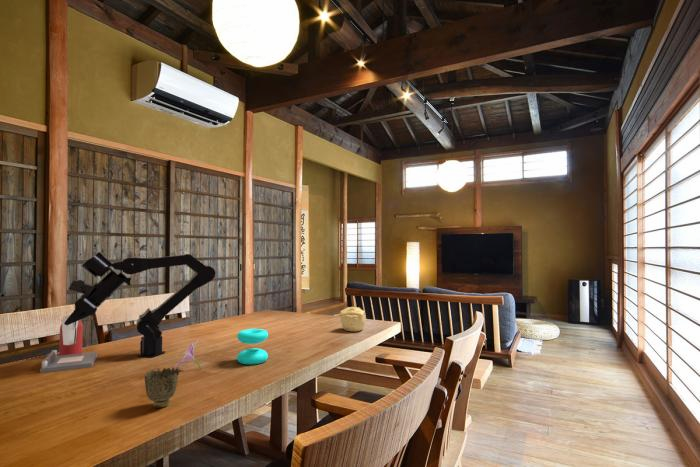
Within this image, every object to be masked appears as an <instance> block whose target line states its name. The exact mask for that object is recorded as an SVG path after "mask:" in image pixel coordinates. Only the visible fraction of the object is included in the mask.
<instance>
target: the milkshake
mask: <svg viewBox="0 0 700 467" xmlns="http://www.w3.org/2000/svg"><path fill="white" fill-rule="evenodd" d="M69 316H70V315H64V316H62V317H61V319H60V321H61V324H62V333H63V345H71V344H75V343H76V334H77V326H78V321H76V322H74V323H72V324H69V325H65V324H64V323H65V321H66V320H67V319H68V318H69Z"/></svg>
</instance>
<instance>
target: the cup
mask: <svg viewBox="0 0 700 467" xmlns="http://www.w3.org/2000/svg"><path fill="white" fill-rule="evenodd" d="M143 375H144V385H145V393H146V396H147V398H148V399H149V400H150V401H152V406H153V407H154V408H156V409H161V408H165V407H167V406H168V405H169V404H170V403H171V400H170V399H171V398H172V397H173V396H174V394H175V393H176V391H177V386H178V380H179V379H178V378H179V369H178V368H175V369H174V367H173V368H172V369H171V368H170V367H167V368H166V367H163V369H162V370H160V368H158V369H157V371H156V370H153V369H151V370H150V371H147V372H146V374H143Z"/></svg>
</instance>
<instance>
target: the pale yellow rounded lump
mask: <svg viewBox="0 0 700 467" xmlns="http://www.w3.org/2000/svg"><path fill="white" fill-rule="evenodd" d="M365 313H366V312H365V310H363V309H362V308H361V307H360V306H359V307H356V306H350V307H349V306H347V307H346V308H344V309H342V310H340V320H339V321H340V324H341V326H342V328H343V330H344V331H347V332H359V331H362V330H364V328H365V326H366V321H367V318H366V315H365Z"/></svg>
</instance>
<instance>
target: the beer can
mask: <svg viewBox="0 0 700 467" xmlns="http://www.w3.org/2000/svg"><path fill="white" fill-rule="evenodd" d="M83 330H84V326H83V322H82V319H81V320H78V326H77V334H76V343H75V344H71V345H63V333H62V323H61V324H60V327H59V349H58V351H59V352H58V354H59V355H58V356H61V355H71V354H81V353H83V335H84V332H83Z"/></svg>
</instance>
